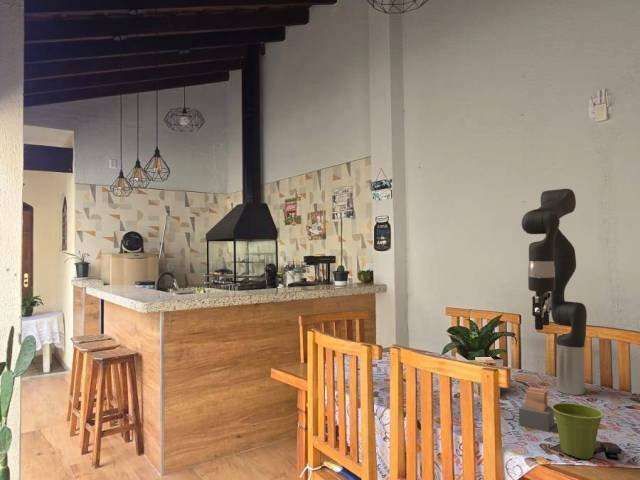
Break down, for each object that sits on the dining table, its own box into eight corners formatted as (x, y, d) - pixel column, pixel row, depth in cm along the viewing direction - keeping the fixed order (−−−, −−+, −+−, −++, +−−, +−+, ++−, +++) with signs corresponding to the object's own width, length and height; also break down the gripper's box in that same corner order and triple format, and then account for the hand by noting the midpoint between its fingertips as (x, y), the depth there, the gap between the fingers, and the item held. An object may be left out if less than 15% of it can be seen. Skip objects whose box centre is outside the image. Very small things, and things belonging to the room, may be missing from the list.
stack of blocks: (468, 379, 188) (468, 348, 188) (484, 380, 187) (484, 349, 187) (478, 395, 167) (478, 361, 167) (496, 396, 166) (496, 362, 166)
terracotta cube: (529, 403, 143) (529, 387, 143) (547, 407, 140) (547, 390, 140) (525, 407, 139) (525, 391, 139) (543, 411, 136) (543, 394, 136)
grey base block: (525, 417, 145) (525, 401, 145) (554, 423, 140) (554, 406, 140) (519, 425, 138) (519, 408, 139) (548, 431, 134) (548, 414, 134)
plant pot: (615, 460, 116) (614, 414, 116) (579, 467, 112) (579, 420, 112) (574, 441, 127) (574, 400, 127) (540, 447, 123) (540, 404, 123)
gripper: (533, 273, 152) (534, 322, 152) (522, 276, 141) (523, 330, 141) (559, 274, 148) (560, 325, 148) (549, 277, 137) (550, 332, 137)
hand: (542, 327), depth 144 cm, fingers open, 8 cm apart
